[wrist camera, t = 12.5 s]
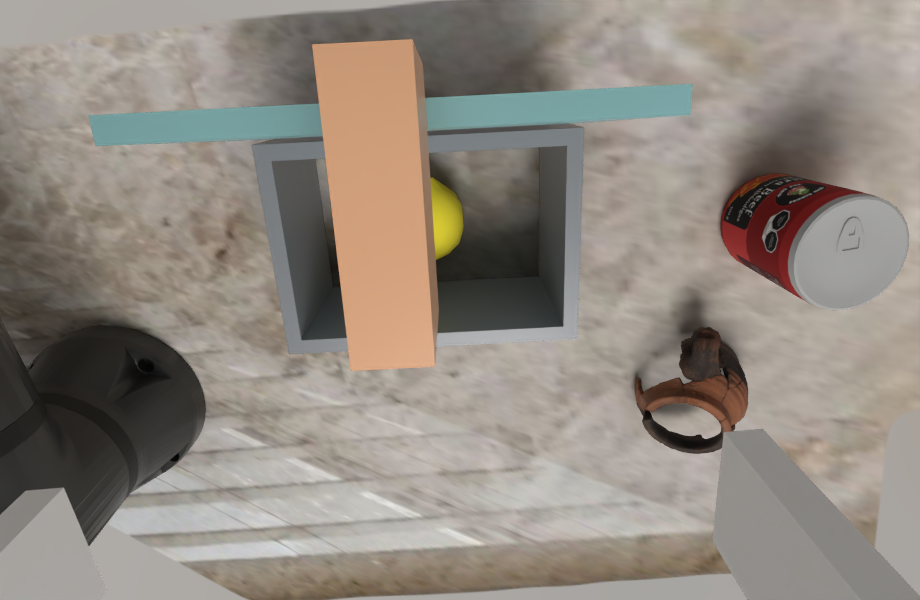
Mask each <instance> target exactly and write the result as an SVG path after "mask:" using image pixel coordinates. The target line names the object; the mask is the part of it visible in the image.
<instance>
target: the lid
mask: <svg viewBox="0 0 920 600" xmlns="http://www.w3.org/2000/svg"><path fill="white" fill-rule="evenodd" d="M312 49H313V57H314V66H315V74H316V82H317V91H318V99H319V103H318V104H299V105H280V106H261V107H242V108H222V109H203V110H184V111H165V112H146V113H127V114H108V115H89V120H90V124H91V128H92V133H93V137H94V141H95V145H96V146H109V145H136V144H162V143H189V142H216V141H242V140H262V139H281V138H301V137H320V136H323V141H324V150H325V158H326V166H327V175H328V183H329V192H330V200H331V208H332V217H333V225H334V234H335V242H336V250H337V259H338V267H339V276H340V284H341V292H342V301H343V309H344V318H345V326H346V334H347V343H348V351H349V360H350V368H351V371H358V370H377V369H396V368H415V367H434V366H435V360H436V346H437V331H438V317H439V304H438V288H437V273H436V257H435V242H434V227H433V211H432V196H431V180H430V165H429V149H428V134H427V131H434V130H453V129H472V128H491V127H511V126H530V125H549V124H568V123H587V122H601V121H614V120H628V119H641V118H655V117H668V116H682V115H690V112H691V98H692V84H681V85H662V86H642V87H623V88H604V89H585V90H566V91H547V92H528V93H509V94H490V95H471V96H452V97H432V98H425V87H424V72H423V63H422V61H421V59H420V56H419V54H418V51H417V49H416V47H415V44H414V42H413V39H406V40H387V41H368V42H349V43H330V44H312Z"/></svg>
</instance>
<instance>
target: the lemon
mask: <svg viewBox="0 0 920 600" xmlns="http://www.w3.org/2000/svg"><path fill="white" fill-rule="evenodd" d="M430 180H431V196H432V211H433V227H434V242H435V257H436V260H437V259H440V258H441V257H443V256H445V255H447V254H449V253H450V252H451V251H452V250H453V249H454V248H455V247H456V246H457V245H458V244H459V242H460V239H461V236H462V233H463V230H464V224H463V211H462V205H461V203H460V201H459V199H458V197H457V195H456V194H455V193H454V192H453V191H452V190H450V189H449V188H447V187H446V186H445V185H443V184H442V183H440V182H439V181H437V180H436V179H434V178H433V177H431V176H430Z"/></svg>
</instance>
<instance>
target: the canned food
mask: <svg viewBox="0 0 920 600" xmlns="http://www.w3.org/2000/svg"><path fill="white" fill-rule="evenodd" d="M721 235H722V239H723V242H724V244H725V246H726V248H727V250H728V251H729V253H730V254H731V255H732V256H733V257H734V258H735V259H736V260H737V261H739V262H740V263H742V264H743V265H745V266H747V267H749V268H750V269H752V270H754V271H755V272H757V273H759V274H760V275H762V276H764V277H765V278H767V279H769V280H770V281H772V282H774V283H775V284H777V285H779V286H781V287H782V288H784V289H786V290H787V291H789V292H791V293H792V294H794V295H796V296H797V297H799V298H801V299H803V300H805V301H807V302H808V303H810V304H812V305H815V306H818V307H820V308H823V309H827V310H847V309H851V308H855V307H858V306H860V305H863V304H865V303H867V302H869V301H871V300H872V299H874V298H875V297H877V296H878V295H880V294H881V293H882V292H883V291H884V290H885V289H886V288H888V286H889V285H890V284H891V283H892V282H893V280H894V279H895V278H896V276H897V275H898V273H899V272H900V270H901V268H902V266H903V264H904V261H905V259H906V256H907V252H908V247H909V232H908V227H907V223H906V221H905V219H904V217H903V215H902V214H901V212H900V211H899V210H898V209H897V207H895V206H894V205H892V204H891V203H890V202H888V201H886V200H883V199H881V198H879V197H876V196H874V195H870V194H866V193H862V192H859V191H855V190H851V189H846V188H842V187H838V186H833V185H829V184H825V183H821V182H816V181H812V180H808V179H803V178H799V177H795V176H791V175H785V174H769V175H765V176H761V177H758V178H755V179H753V180H751V181H749V182H747V183H746V184H744V185H743V186H741V187H740V188H739V189H738V190H737V191H736V192H735V193H734V194H733V195H732V197H731V198H730V200H729V201H728V203H727V205H726V207H725V209H724V211H723V215H722V219H721Z"/></svg>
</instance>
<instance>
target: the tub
mask: <svg viewBox="0 0 920 600" xmlns="http://www.w3.org/2000/svg"><path fill="white" fill-rule="evenodd" d="M427 134H428V149H429V153H438V152H457V151H476V150H495V149H514V148H533V147H539V276H533V277H514V278H495V279H476V280H457V281H437V288H438V304H439V317H438V331H437V346H456V345H476V344H495V343H514V342H533V341H552V340H571V339H578V311H579V279H580V247H581V214H582V182H583V150H584V127H580V126H576V125H572V124H549V125H530V126H511V127H491V128H472V129H453V130H434V131H427ZM252 150H253V155H254V161H255V166H256V172H257V177H258V183H259V189H260V194H261V200H262V205H263V211H264V217H265V222H266V228H267V233H268V239H269V245H270V250H271V256H272V261H273V267H274V272H275V278H276V284H277V289H278V295H279V300H280V306H281V312H282V317H283V323H284V328H285V334H286V339H287V345H288V351H289V354H304V353H323V352H342V351H348V343H347V334H346V326H345V318H344V309H343V301H342V292H341V287H333V281H332V274H331V267H330V260H329V253H328V246H327V239H326V231H325V224H324V217H323V210H322V203H321V196H320V189H319V181H318V174H317V167H316V160H315V159H323V158H325V150H324V141H323V136H320V137H301V138H281V139H273V140H269V141H265V142H261V143H258V144H254V145H252ZM437 346H436V347H437Z"/></svg>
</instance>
